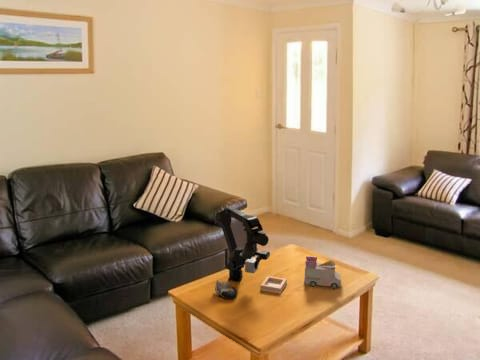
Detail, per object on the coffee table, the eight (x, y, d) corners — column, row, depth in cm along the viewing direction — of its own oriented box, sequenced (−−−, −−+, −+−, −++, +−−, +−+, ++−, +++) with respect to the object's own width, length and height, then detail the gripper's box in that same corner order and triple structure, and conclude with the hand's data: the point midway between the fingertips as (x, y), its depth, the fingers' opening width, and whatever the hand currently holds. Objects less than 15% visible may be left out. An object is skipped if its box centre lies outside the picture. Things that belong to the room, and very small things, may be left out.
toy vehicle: (340, 290, 246) (342, 264, 243) (303, 287, 250) (304, 261, 247) (340, 283, 255) (341, 257, 252) (304, 280, 259) (305, 254, 255)
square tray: (260, 290, 248) (260, 285, 247) (267, 280, 259) (267, 275, 258) (280, 293, 244) (280, 288, 243) (286, 283, 255) (286, 279, 254)
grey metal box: (245, 272, 246) (245, 261, 245) (249, 267, 252) (249, 257, 250) (253, 273, 244) (253, 262, 243) (257, 269, 250) (257, 258, 248)
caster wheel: (237, 302, 240) (219, 303, 236) (231, 288, 250) (213, 289, 246) (240, 292, 238) (222, 292, 234) (233, 278, 247) (216, 279, 243)
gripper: (228, 243, 240) (229, 271, 244) (263, 248, 233) (262, 277, 237) (237, 236, 250) (237, 263, 254) (270, 240, 243) (270, 268, 247)
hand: (251, 268), depth 248 cm, fingers closed on grey metal box, 5 cm apart
